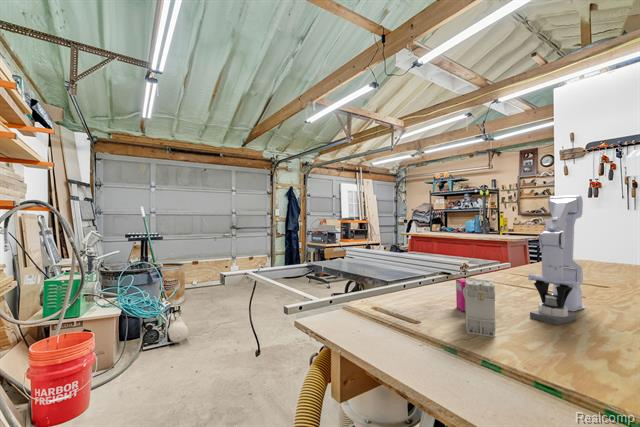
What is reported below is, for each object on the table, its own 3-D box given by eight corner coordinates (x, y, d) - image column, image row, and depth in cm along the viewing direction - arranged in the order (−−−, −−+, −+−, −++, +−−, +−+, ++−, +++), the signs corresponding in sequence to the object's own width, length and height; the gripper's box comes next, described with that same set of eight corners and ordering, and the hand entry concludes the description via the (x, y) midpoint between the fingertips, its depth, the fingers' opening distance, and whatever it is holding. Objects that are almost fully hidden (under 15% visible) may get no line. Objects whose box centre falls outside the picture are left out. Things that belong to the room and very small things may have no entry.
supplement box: (471, 308, 111) (471, 278, 111) (478, 313, 105) (478, 282, 105) (455, 307, 111) (455, 278, 111) (461, 312, 105) (461, 281, 106)
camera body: (549, 312, 105) (549, 300, 105) (576, 320, 98) (576, 306, 98) (530, 317, 100) (529, 304, 100) (556, 325, 93) (556, 311, 93)
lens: (548, 308, 102) (548, 291, 102) (563, 312, 98) (563, 294, 98) (542, 310, 100) (542, 293, 100) (557, 314, 96) (557, 296, 96)
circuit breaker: (489, 321, 97) (489, 277, 97) (495, 337, 84) (495, 286, 84) (464, 318, 100) (464, 275, 100) (466, 333, 87) (466, 283, 87)
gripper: (523, 263, 104) (523, 300, 104) (571, 270, 91) (572, 312, 91) (534, 262, 107) (534, 298, 107) (582, 268, 94) (583, 309, 93)
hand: (552, 304), depth 99 cm, fingers closed on lens, 4 cm apart
